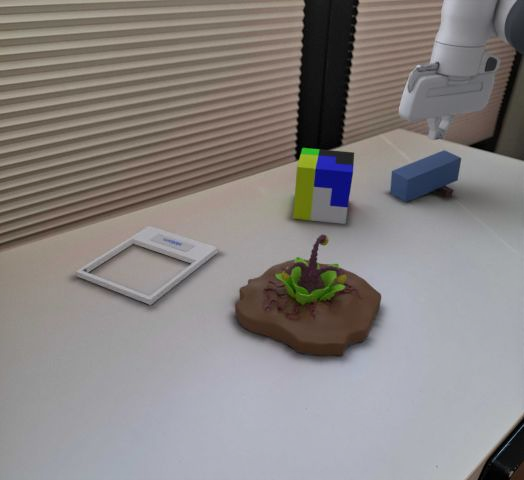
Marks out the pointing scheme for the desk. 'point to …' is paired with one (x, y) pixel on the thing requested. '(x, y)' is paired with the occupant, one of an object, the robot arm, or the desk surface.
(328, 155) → the puzzle toy
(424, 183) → the toy block
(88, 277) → the photo frame
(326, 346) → the plant
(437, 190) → the bar
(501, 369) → the desk surface
